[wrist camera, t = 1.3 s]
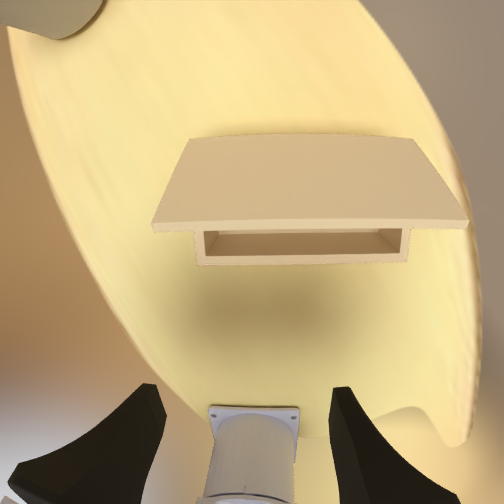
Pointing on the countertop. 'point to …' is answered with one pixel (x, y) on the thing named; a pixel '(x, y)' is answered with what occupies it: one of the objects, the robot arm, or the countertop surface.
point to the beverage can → (48, 15)
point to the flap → (305, 185)
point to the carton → (301, 246)
